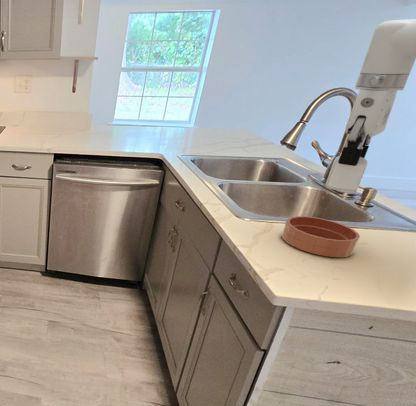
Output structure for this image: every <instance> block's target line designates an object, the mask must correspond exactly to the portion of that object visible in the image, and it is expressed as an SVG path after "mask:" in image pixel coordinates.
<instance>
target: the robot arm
mask: <svg viewBox="0 0 416 406" xmlns="http://www.w3.org/2000/svg"><path fill="white" fill-rule="evenodd" d="M415 61H416V18H405V19H393V20H392V19H391V20H385V21H383V22H380V23H379V24H378V25H377V26H376V28H375V29H374V31H373V34H372V38H371V39H370V43H369V45H368V49H367V52H366V54H365V58H364V60H363V63H362V66H361V69H360V71H359V74H358V77H357V78H356V79H357V80H356V82H355V86H354V89H355V90H359V92H358V94H357V96H356V98H355V101H354V103H353V106H352V109H351V111H350V114H349V117H348V119H347V123H346V125H345V129H344V133H345V134H347V135H348V136H347V138H346V141H345V143H344V145H343V147H342V150H341V154H340V155H339V156H340V158H339V161H338V163H339V164H345V165H351V166H356V165H357V164H358V161H359V158H360V157H362V158H365V159H366V155H367V153H368V150H369V148H370V143H371V141H372V137H375V136H377V135H380V134H381V133H383V132H384V131H385V129H386V127H387V124H388V122H389V121H388V120H389V117H390V115H391V113H392V109H393V106H394V103H395V99H396V96H397V93H398V91H404V89H405V87H406V84H407V81H408V79H409V77H410V74H411V72H412V69H413V67H414V64H415ZM362 147H363V149H361V148H362Z"/></svg>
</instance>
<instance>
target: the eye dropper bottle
mask: <svg viewBox="0 0 416 406" xmlns="http://www.w3.org/2000/svg"><path fill="white" fill-rule="evenodd" d="M361 149H363V147H362V148H361ZM340 156H341V155H337V156H336V157H335V158H334V159H333V161H332V164H331V167H330V169H329V173H328V175H327V179H326V181H325V187H326V188H327V189H329V190H334V191H338V192H339V191H340V192H348V193H349V192H350V193H353V192H357V191H358V189H359V187H360V184H361V181H362V179H363V176H364V174H365V171H366V169H367V166H368V160H367V159H366V157H365V158H362V157H360V158H359V161H358V164H357V165H356V166H351V165H345V164H339V163H338V161H339V158H340Z"/></svg>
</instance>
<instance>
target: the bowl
mask: <svg viewBox="0 0 416 406" xmlns="http://www.w3.org/2000/svg"><path fill="white" fill-rule="evenodd" d="M360 238H361V235H360V233H359V232H357V231H356V230H355V229H353V228H351V227H350V226H348V225H345V224H342V223H339V222H337V221H334V220H330V219H326V218H321V217H317V216H306V215H296V216H295V215H294V216H290V217H288V218H287V219H286V222H285V224H284V228H283V230H282V233H281V239H283V240H284V241H285V242H286V243H287V244H289V245H290V246H292V247H294V248H296V249H299V250H301V251H304V252H307V253H310V254H314V255H317V256H323V257H331V258H345V257H346V258H347V257H350V256H352V254H354V251H355V250H356V247H357V245H358V242H359V240H360Z"/></svg>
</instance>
